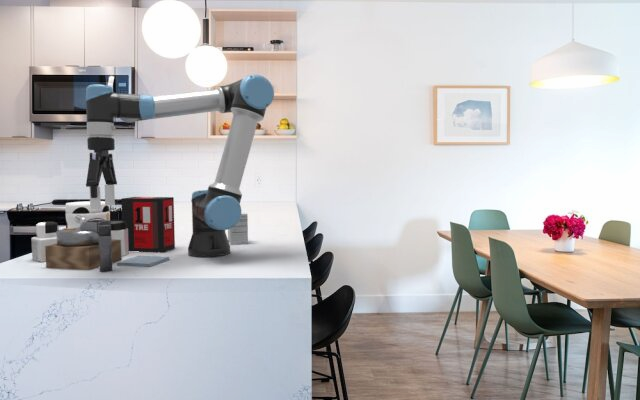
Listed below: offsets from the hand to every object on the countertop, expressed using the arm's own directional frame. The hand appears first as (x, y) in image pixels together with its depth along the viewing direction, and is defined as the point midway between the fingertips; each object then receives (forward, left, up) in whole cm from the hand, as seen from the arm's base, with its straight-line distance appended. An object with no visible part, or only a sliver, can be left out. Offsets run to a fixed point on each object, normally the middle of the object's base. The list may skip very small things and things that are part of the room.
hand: (103, 207), depth 152 cm
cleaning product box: (+8, -36, -20) cm, 42 cm away
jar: (+14, -24, -20) cm, 34 cm away
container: (+32, -12, -20) cm, 40 cm away
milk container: (+33, -34, -20) cm, 51 cm away
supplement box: (-19, -58, -20) cm, 64 cm away
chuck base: (+14, -8, -20) cm, 25 cm away
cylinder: (0, 0, -20) cm, 20 cm away
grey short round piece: (+14, -8, -12) cm, 20 cm away
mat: (-4, -14, -20) cm, 25 cm away
